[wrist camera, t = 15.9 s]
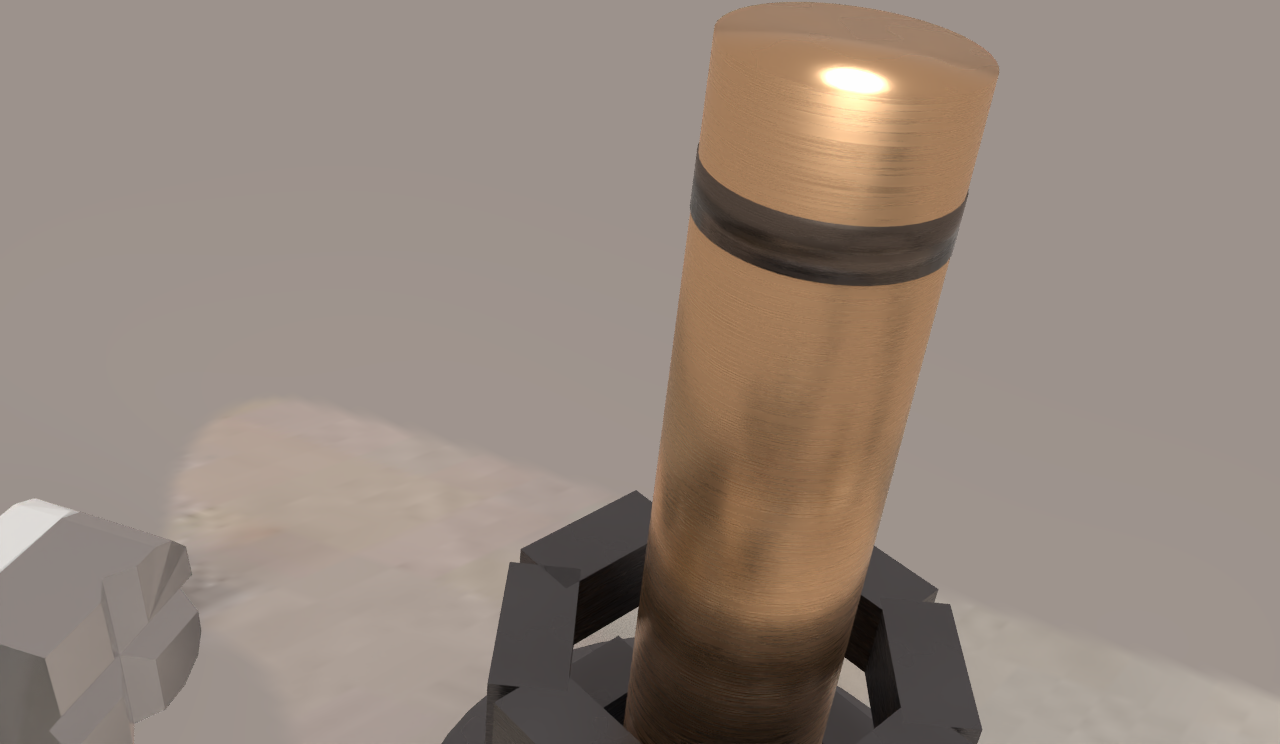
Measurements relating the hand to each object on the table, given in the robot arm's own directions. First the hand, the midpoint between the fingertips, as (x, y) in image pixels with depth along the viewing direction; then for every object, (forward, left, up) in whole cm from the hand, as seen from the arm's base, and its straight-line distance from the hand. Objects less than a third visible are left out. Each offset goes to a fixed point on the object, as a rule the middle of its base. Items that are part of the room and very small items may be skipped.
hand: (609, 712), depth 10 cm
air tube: (+6, -10, -18) cm, 21 cm away
